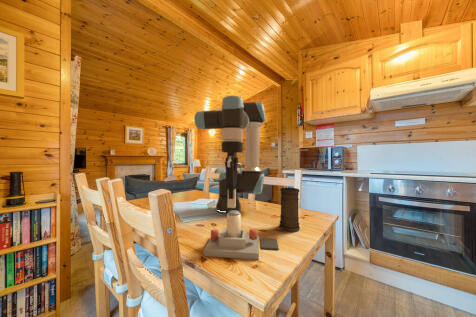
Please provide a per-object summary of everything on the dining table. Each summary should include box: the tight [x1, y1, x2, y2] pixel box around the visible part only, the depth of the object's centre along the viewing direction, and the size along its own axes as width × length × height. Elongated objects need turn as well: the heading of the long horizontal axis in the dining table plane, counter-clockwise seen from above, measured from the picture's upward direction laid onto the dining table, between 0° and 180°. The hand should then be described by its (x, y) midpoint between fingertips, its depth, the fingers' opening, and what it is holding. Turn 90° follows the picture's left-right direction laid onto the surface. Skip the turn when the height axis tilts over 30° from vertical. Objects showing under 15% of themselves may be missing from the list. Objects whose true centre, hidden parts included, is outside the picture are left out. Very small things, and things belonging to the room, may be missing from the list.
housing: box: [203, 227, 260, 260], centre depth 68 cm, size 14×18×5 cm
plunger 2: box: [248, 228, 258, 240], centre depth 67 cm, size 3×3×3 cm
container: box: [279, 187, 301, 233], centre depth 86 cm, size 9×9×18 cm
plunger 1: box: [210, 229, 220, 240], centre depth 69 cm, size 3×3×3 cm
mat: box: [260, 237, 280, 251], centre depth 71 cm, size 8×6×1 cm
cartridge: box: [226, 210, 242, 238], centre depth 68 cm, size 5×5×11 cm
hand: (231, 207), depth 68 cm, fingers closed
